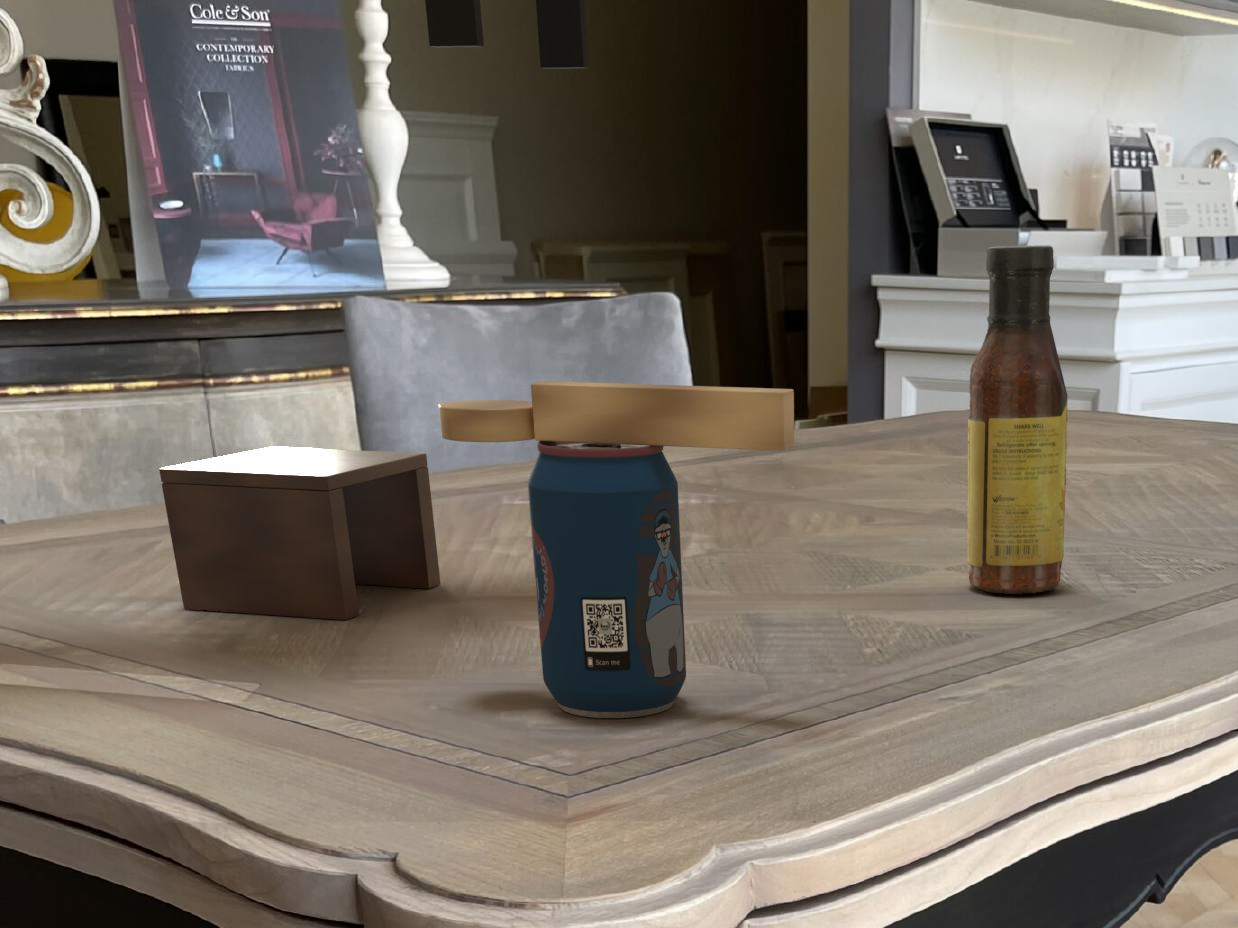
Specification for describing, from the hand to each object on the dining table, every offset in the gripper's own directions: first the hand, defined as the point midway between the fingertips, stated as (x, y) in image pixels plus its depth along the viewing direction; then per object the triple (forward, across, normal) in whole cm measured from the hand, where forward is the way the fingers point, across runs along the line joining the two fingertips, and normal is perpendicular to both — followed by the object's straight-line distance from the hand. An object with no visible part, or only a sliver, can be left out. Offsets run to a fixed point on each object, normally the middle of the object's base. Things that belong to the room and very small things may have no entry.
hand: (514, 58), depth 93 cm
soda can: (+29, -24, -14) cm, 40 cm away
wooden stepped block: (+17, -24, -14) cm, 32 cm away
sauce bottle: (+29, +12, -27) cm, 41 cm away
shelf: (+29, -4, +14) cm, 32 cm away
